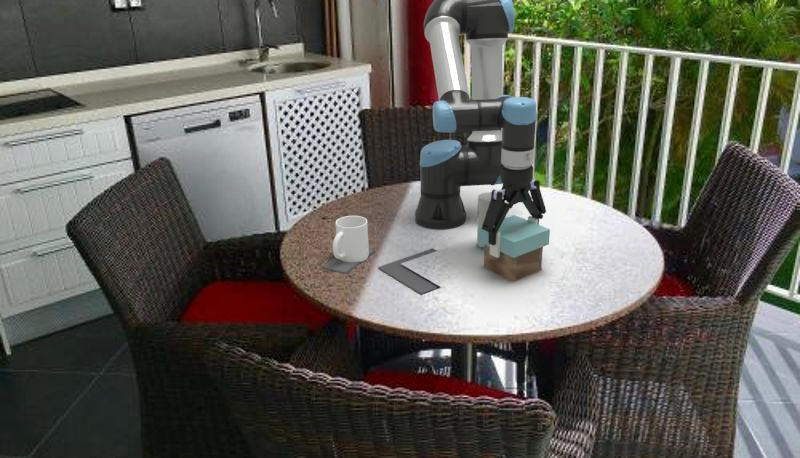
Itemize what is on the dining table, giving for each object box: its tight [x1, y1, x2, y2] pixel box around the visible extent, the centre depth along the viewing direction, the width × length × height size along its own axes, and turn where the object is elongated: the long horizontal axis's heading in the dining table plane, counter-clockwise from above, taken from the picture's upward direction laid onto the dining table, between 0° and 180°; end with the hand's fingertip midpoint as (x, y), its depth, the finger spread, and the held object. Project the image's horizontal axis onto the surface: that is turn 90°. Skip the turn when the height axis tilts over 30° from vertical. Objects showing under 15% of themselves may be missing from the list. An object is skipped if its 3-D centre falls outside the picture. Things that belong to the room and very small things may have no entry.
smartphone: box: [322, 247, 375, 275], centre depth 179 cm, size 8×1×15 cm
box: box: [483, 245, 544, 283], centre depth 169 cm, size 10×10×8 cm
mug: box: [332, 215, 370, 263], centre depth 177 cm, size 12×8×10 cm
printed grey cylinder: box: [476, 191, 492, 251], centre depth 180 cm, size 7×7×15 cm
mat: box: [377, 248, 442, 296], centre depth 172 cm, size 18×18×1 cm
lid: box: [479, 214, 551, 258], centre depth 166 cm, size 12×12×5 cm
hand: (513, 248), depth 168 cm, fingers closed on lid, 12 cm apart
